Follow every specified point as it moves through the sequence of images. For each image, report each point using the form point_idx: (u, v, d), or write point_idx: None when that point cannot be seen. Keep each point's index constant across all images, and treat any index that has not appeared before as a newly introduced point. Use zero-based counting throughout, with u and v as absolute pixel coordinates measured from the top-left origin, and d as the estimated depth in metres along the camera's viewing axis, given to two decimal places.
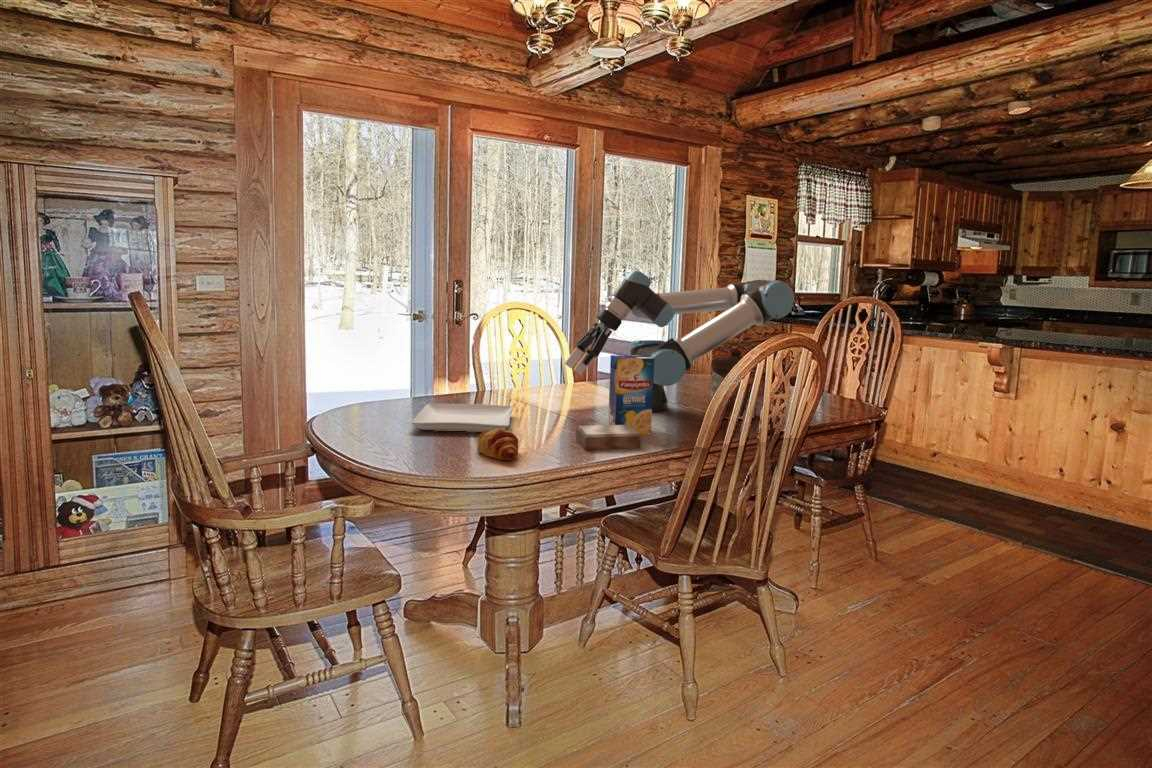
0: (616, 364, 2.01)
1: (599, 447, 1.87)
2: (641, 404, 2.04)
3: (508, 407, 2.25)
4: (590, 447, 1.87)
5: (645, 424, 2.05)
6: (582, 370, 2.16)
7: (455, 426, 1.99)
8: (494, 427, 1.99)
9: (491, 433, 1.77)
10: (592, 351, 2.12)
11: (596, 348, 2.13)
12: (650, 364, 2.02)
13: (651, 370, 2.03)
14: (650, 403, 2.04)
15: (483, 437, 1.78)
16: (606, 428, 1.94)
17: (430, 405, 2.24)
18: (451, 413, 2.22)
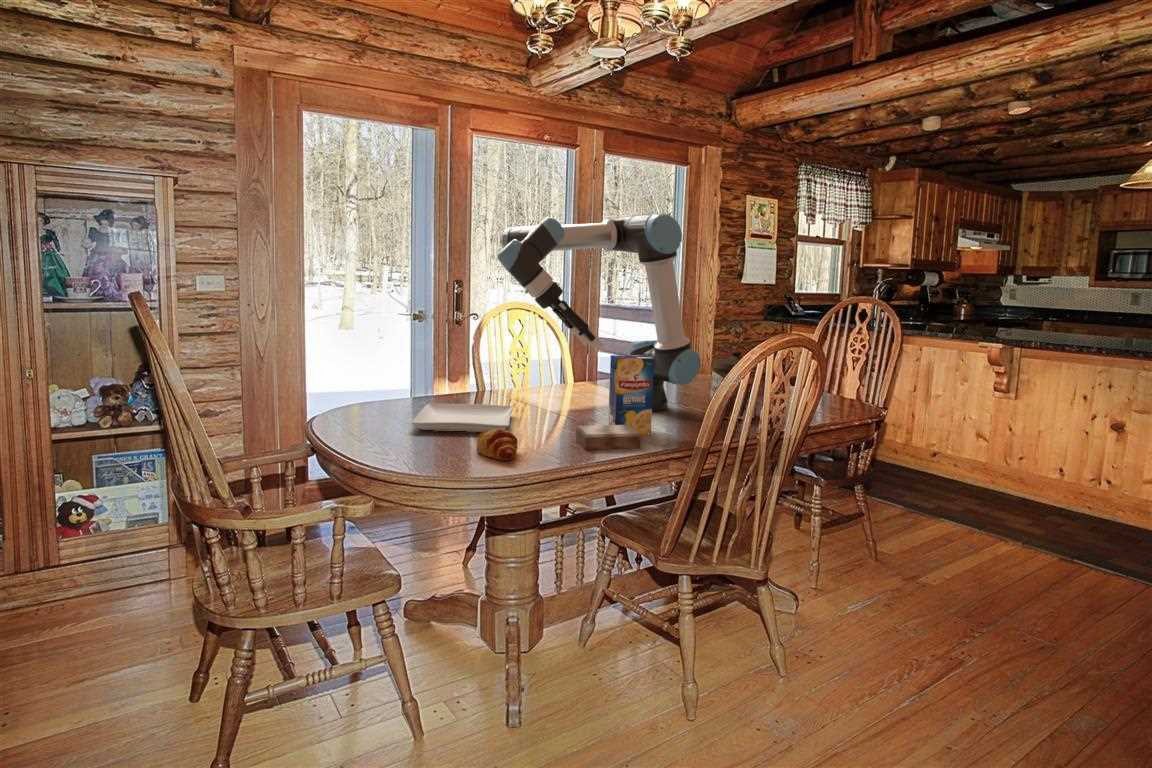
0: (616, 364, 2.01)
1: (599, 447, 1.87)
2: (641, 404, 2.04)
3: (508, 407, 2.25)
4: (590, 447, 1.87)
5: (645, 424, 2.05)
6: (599, 342, 1.94)
7: (455, 426, 1.99)
8: (494, 427, 1.99)
9: (490, 433, 1.77)
10: (582, 331, 1.89)
11: (579, 325, 1.89)
12: (650, 364, 2.02)
13: (651, 370, 2.03)
14: (650, 403, 2.04)
15: (482, 437, 1.78)
16: (606, 428, 1.94)
17: (430, 405, 2.24)
18: (451, 413, 2.22)
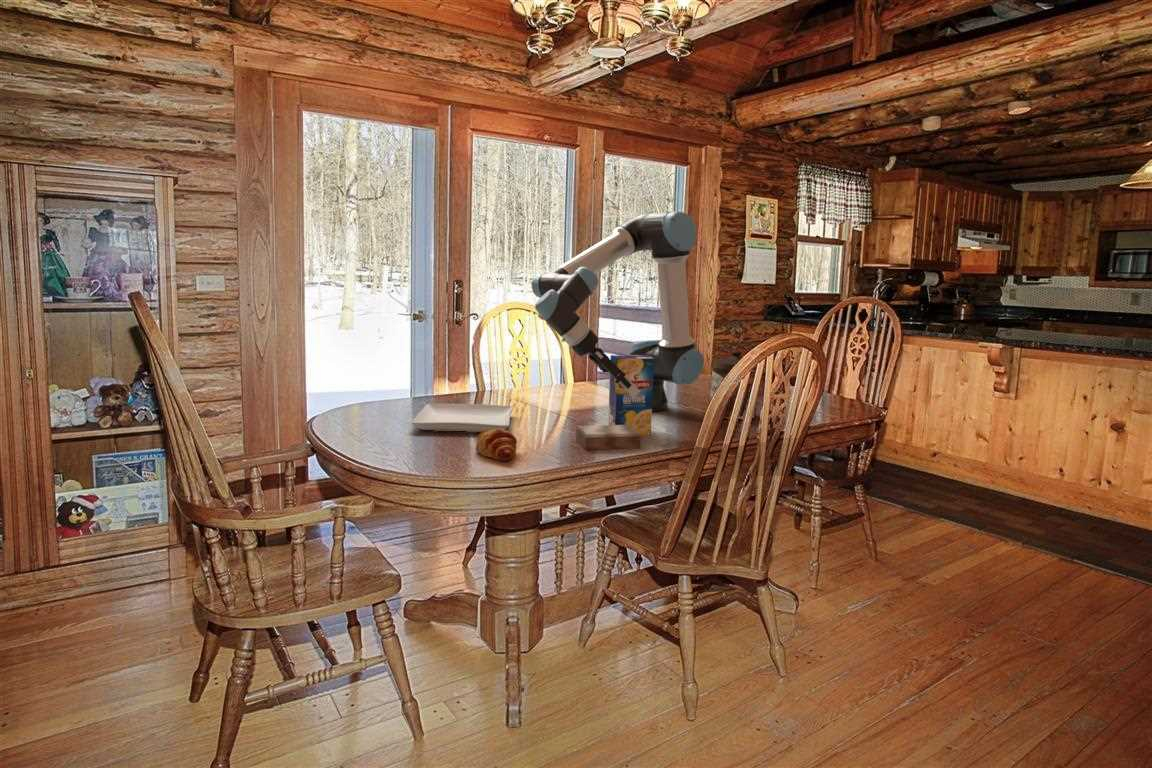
0: (616, 364, 2.01)
1: (599, 447, 1.87)
2: (641, 404, 2.04)
3: (508, 407, 2.25)
4: (590, 447, 1.87)
5: (645, 424, 2.05)
6: (635, 389, 1.98)
7: (455, 426, 1.99)
8: (494, 427, 1.99)
9: (489, 433, 1.77)
10: (619, 379, 1.94)
11: (616, 374, 1.94)
12: (650, 364, 2.02)
13: (651, 370, 2.03)
14: (650, 403, 2.04)
15: (481, 437, 1.78)
16: (606, 428, 1.94)
17: (430, 405, 2.24)
18: (451, 413, 2.22)
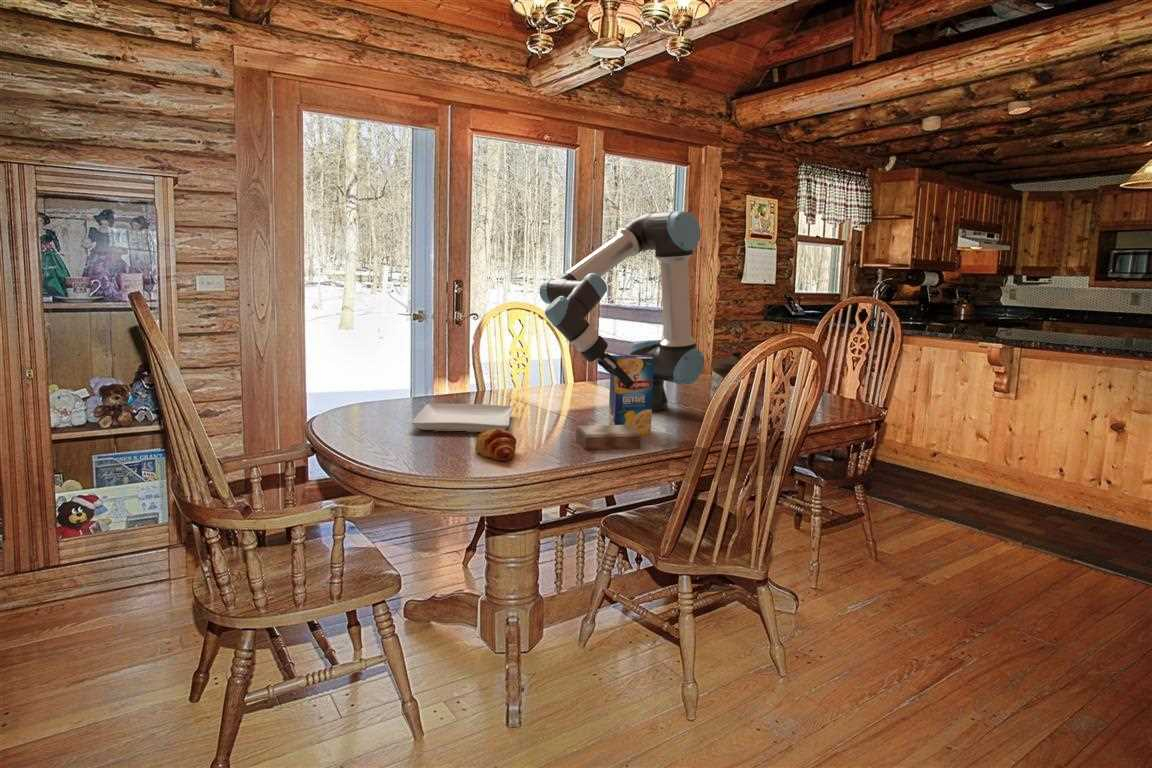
0: None
1: (599, 447, 1.87)
2: (641, 404, 2.04)
3: (508, 407, 2.25)
4: (590, 447, 1.87)
5: (644, 424, 2.05)
6: None
7: (455, 426, 1.99)
8: (494, 427, 1.99)
9: (488, 433, 1.77)
10: (628, 388, 2.01)
11: (627, 383, 2.00)
12: (650, 364, 2.02)
13: (651, 370, 2.03)
14: (650, 403, 2.04)
15: (480, 437, 1.78)
16: (606, 428, 1.94)
17: (430, 405, 2.24)
18: (451, 413, 2.22)
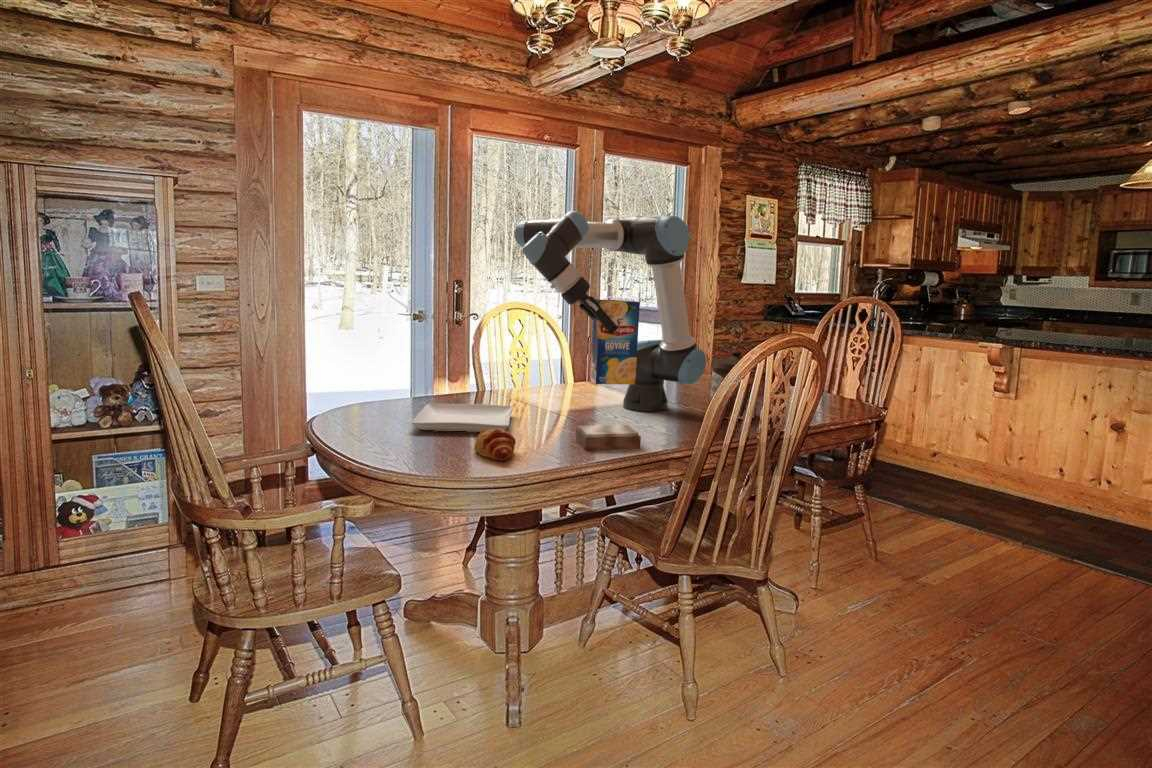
0: None
1: (599, 447, 1.87)
2: (625, 351, 1.90)
3: (508, 407, 2.25)
4: (590, 447, 1.87)
5: (629, 373, 1.91)
6: None
7: (455, 426, 1.99)
8: (494, 427, 1.99)
9: (487, 433, 1.77)
10: (611, 333, 1.87)
11: (610, 327, 1.86)
12: (635, 308, 1.88)
13: (636, 315, 1.89)
14: (635, 350, 1.90)
15: (479, 437, 1.78)
16: (606, 428, 1.94)
17: (430, 405, 2.24)
18: (451, 413, 2.22)
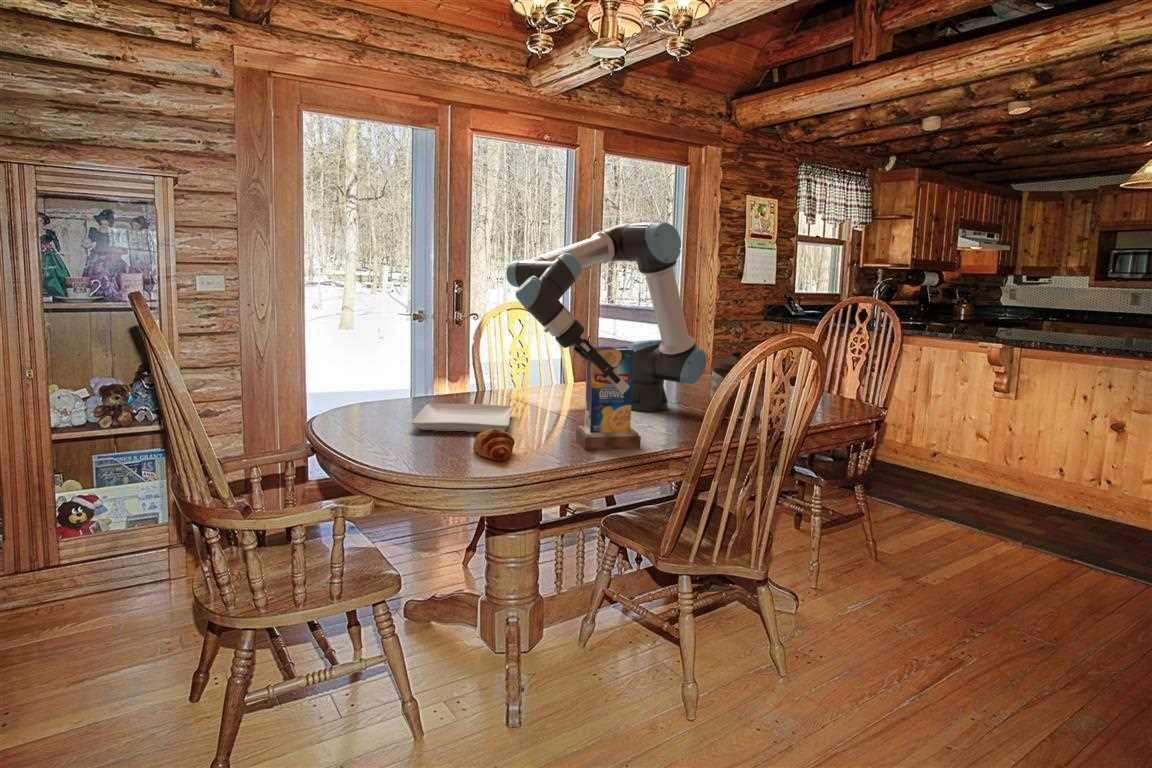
0: None
1: (599, 447, 1.87)
2: (619, 399, 1.88)
3: (508, 407, 2.25)
4: (590, 447, 1.87)
5: (623, 421, 1.90)
6: (625, 384, 1.85)
7: (455, 426, 1.99)
8: (494, 427, 1.99)
9: (485, 433, 1.77)
10: (607, 374, 1.80)
11: (604, 368, 1.80)
12: (629, 356, 1.87)
13: (630, 363, 1.87)
14: (629, 398, 1.89)
15: (478, 436, 1.78)
16: None
17: (430, 405, 2.24)
18: (451, 413, 2.22)
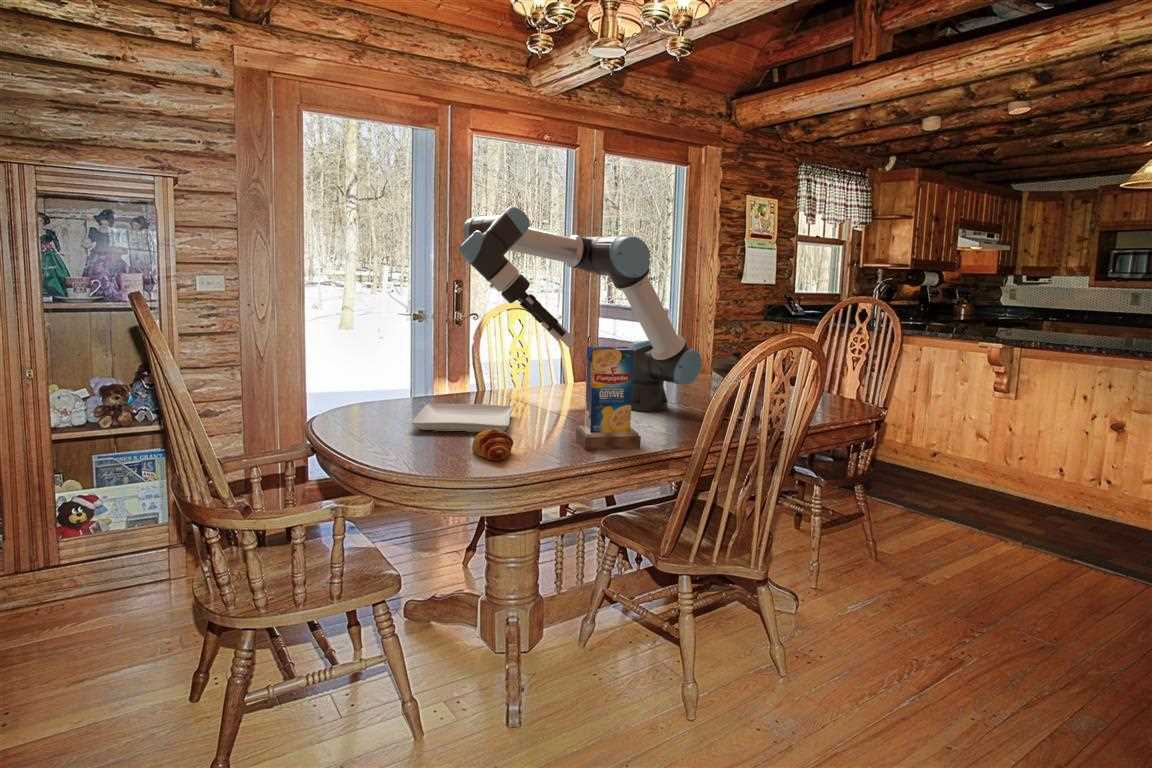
0: (591, 355, 1.86)
1: (599, 447, 1.87)
2: (619, 399, 1.88)
3: (508, 407, 2.25)
4: (590, 447, 1.87)
5: (623, 421, 1.90)
6: (570, 337, 1.84)
7: (455, 426, 1.99)
8: (494, 427, 1.99)
9: (484, 433, 1.77)
10: (550, 326, 1.79)
11: (548, 320, 1.79)
12: (629, 356, 1.87)
13: (630, 362, 1.87)
14: (629, 398, 1.89)
15: (476, 437, 1.78)
16: None
17: (430, 405, 2.24)
18: (451, 413, 2.22)
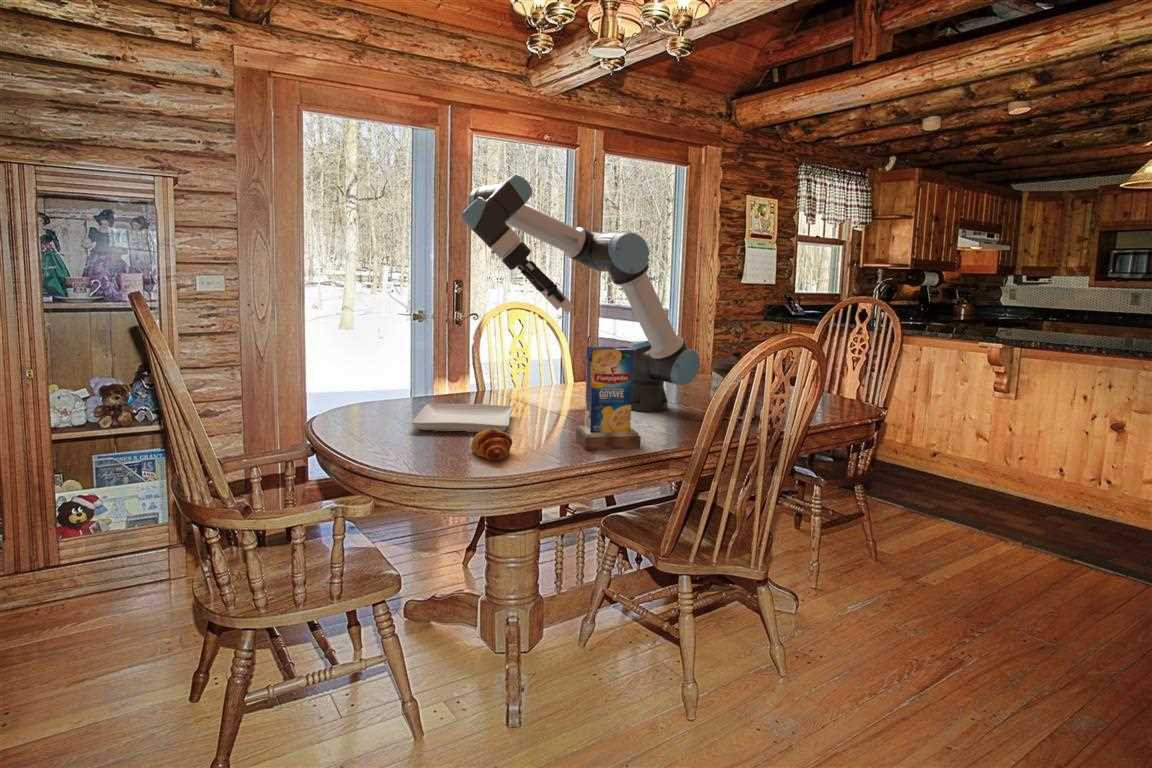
0: (591, 355, 1.86)
1: (599, 447, 1.87)
2: (619, 399, 1.88)
3: (508, 407, 2.25)
4: (590, 447, 1.87)
5: (623, 421, 1.90)
6: (569, 303, 1.86)
7: (455, 426, 1.99)
8: (494, 427, 1.99)
9: (482, 433, 1.77)
10: (550, 291, 1.82)
11: (547, 286, 1.82)
12: (628, 356, 1.87)
13: (630, 362, 1.87)
14: (629, 398, 1.89)
15: (475, 436, 1.78)
16: None
17: (430, 405, 2.24)
18: (451, 413, 2.22)
